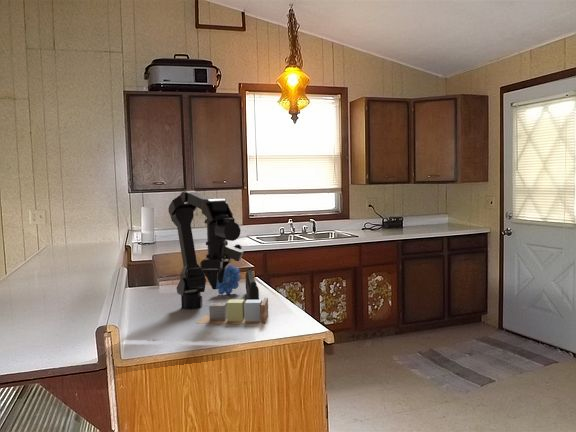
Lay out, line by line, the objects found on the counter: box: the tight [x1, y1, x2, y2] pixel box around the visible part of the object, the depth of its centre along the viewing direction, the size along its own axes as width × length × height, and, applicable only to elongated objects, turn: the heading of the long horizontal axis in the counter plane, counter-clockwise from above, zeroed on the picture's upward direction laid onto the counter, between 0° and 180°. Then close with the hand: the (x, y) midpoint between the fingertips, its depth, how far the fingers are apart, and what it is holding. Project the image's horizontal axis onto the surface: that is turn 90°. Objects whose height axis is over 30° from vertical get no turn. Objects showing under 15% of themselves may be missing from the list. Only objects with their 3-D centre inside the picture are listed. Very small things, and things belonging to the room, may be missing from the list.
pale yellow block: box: [226, 299, 245, 321], centre depth 152 cm, size 5×4×6 cm
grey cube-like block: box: [208, 302, 227, 321], centre depth 152 cm, size 5×4×5 cm
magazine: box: [245, 267, 260, 300], centre depth 176 cm, size 17×3×30 cm
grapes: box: [215, 264, 242, 295], centre depth 191 cm, size 12×7×12 cm, turn 114°
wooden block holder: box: [195, 297, 269, 325], centre depth 152 cm, size 22×9×7 cm, turn 85°
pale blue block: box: [244, 299, 263, 321], centre depth 151 cm, size 5×4×6 cm
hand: (217, 285), depth 152 cm, fingers open, 9 cm apart
